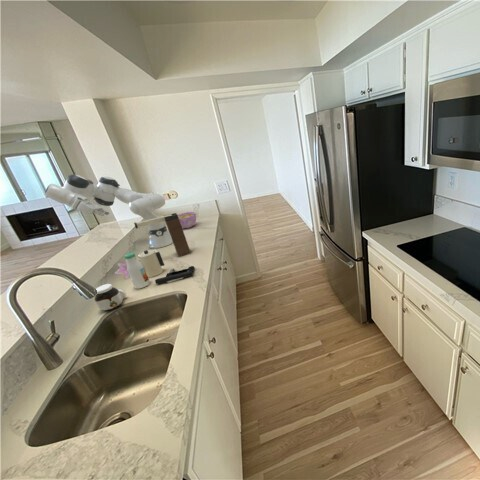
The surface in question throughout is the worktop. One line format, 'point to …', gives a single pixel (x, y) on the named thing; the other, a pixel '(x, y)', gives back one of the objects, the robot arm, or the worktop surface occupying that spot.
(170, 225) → the stand
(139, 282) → the milk bottle
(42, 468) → the worktop surface
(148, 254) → the kettle
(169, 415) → the worktop surface
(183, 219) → the bowl of food
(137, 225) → the switch bar
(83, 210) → the robot arm
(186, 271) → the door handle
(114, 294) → the spread jar
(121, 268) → the lily
